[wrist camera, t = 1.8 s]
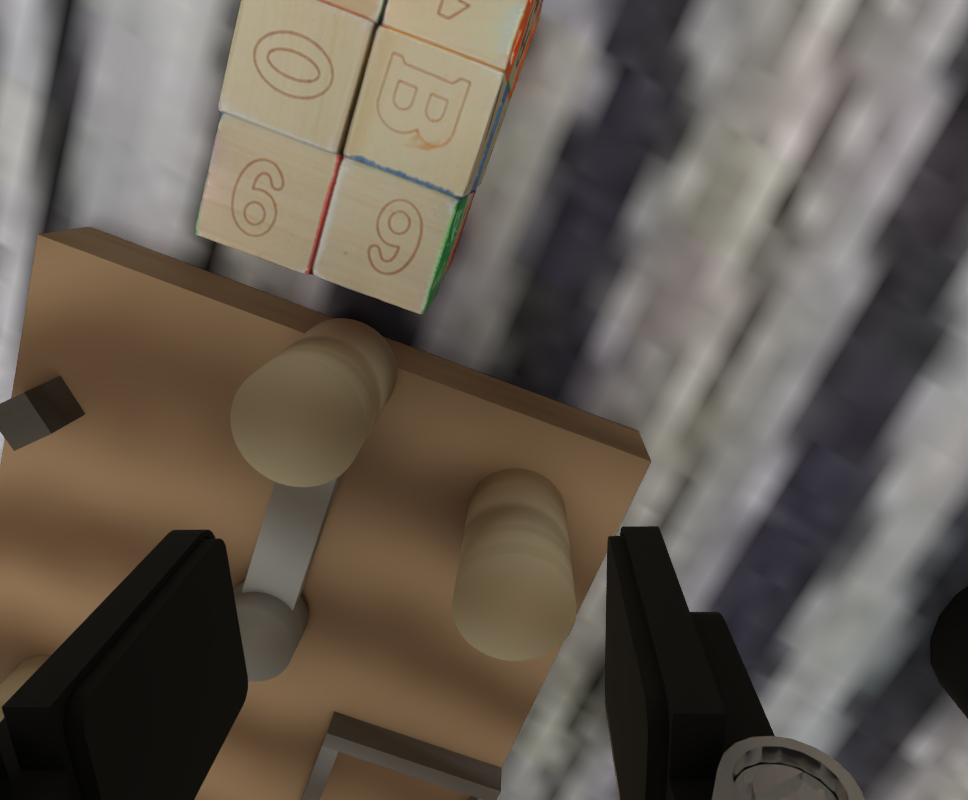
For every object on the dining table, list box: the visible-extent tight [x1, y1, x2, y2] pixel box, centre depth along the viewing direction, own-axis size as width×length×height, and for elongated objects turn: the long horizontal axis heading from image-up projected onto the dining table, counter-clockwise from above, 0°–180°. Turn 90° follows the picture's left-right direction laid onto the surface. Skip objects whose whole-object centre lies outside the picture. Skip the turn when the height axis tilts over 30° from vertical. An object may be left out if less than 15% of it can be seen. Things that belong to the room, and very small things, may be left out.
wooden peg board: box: [0, 227, 651, 800], centre depth 27 cm, size 22×22×9 cm
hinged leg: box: [230, 318, 397, 682], centre depth 24 cm, size 14×4×6 cm, turn 160°
